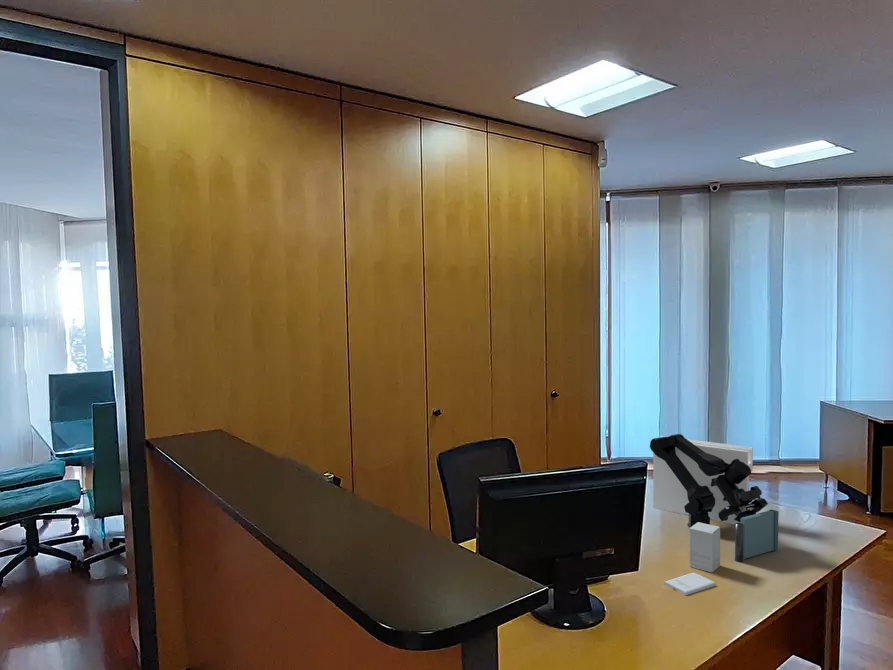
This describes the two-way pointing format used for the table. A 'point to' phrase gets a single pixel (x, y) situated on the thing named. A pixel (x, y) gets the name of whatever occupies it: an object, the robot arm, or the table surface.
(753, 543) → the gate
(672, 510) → the block
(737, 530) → the gate post
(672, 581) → the external hard drive
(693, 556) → the supplement box
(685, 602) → the table surface
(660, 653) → the table surface
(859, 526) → the table surface
